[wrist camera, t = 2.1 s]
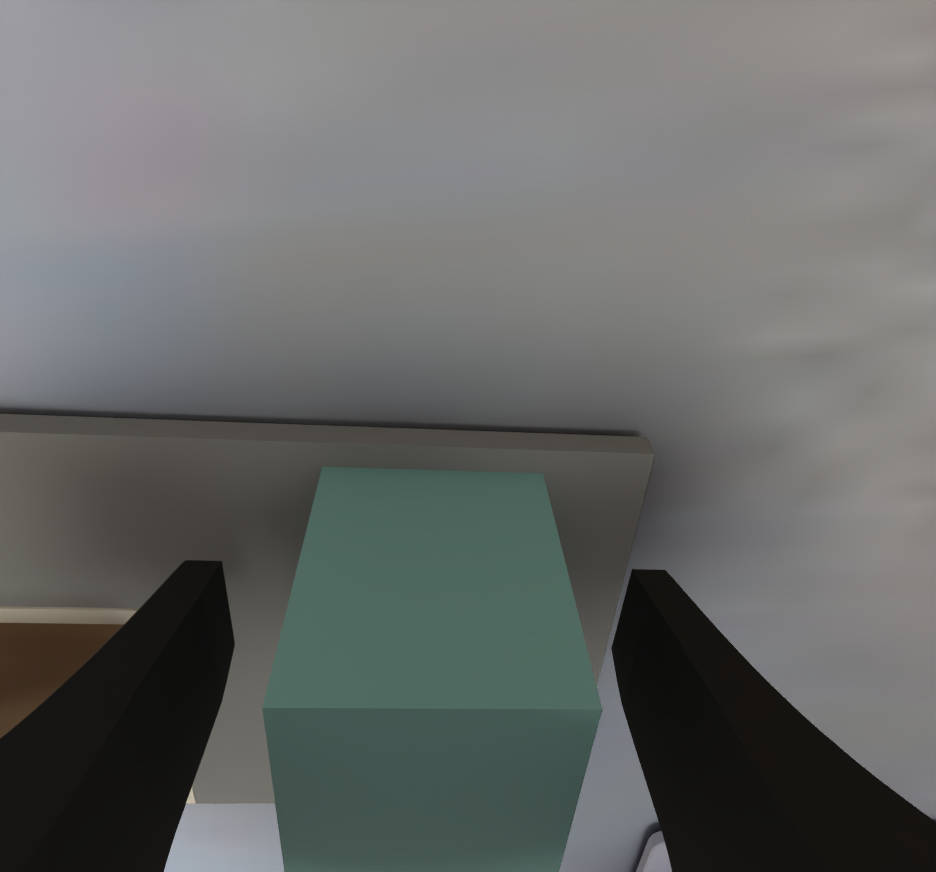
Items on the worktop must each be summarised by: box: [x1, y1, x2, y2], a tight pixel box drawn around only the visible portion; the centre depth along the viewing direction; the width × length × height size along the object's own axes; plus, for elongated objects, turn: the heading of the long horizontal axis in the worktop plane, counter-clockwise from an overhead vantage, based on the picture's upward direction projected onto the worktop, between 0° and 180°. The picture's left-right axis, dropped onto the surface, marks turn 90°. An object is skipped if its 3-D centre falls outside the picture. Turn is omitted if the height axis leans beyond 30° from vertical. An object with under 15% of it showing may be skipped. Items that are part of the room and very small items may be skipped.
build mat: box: [0, 414, 655, 804], centre depth 15 cm, size 18×11×1 cm, turn 86°
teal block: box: [262, 466, 602, 872], centre depth 11 cm, size 4×4×5 cm
